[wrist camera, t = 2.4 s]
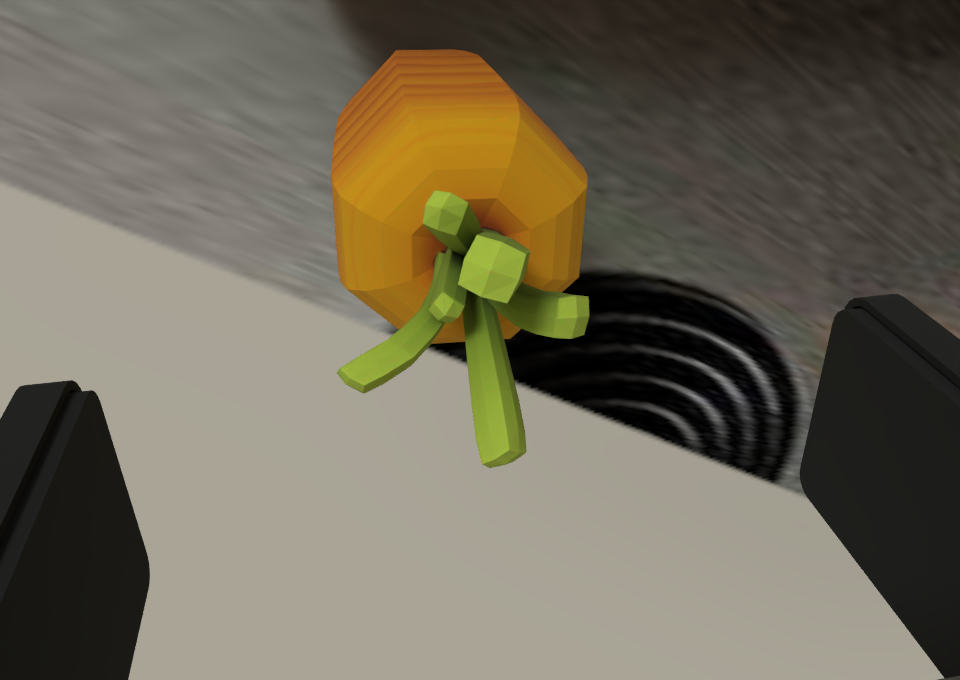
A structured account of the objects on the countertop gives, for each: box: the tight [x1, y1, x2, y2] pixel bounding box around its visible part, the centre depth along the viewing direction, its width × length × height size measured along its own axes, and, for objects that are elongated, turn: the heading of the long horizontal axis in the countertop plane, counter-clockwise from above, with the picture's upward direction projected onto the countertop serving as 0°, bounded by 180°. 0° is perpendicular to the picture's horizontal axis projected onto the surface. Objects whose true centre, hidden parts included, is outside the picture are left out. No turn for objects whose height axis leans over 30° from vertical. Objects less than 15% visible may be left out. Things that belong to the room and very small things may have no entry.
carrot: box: [331, 49, 589, 468], centre depth 18 cm, size 5×5×15 cm
